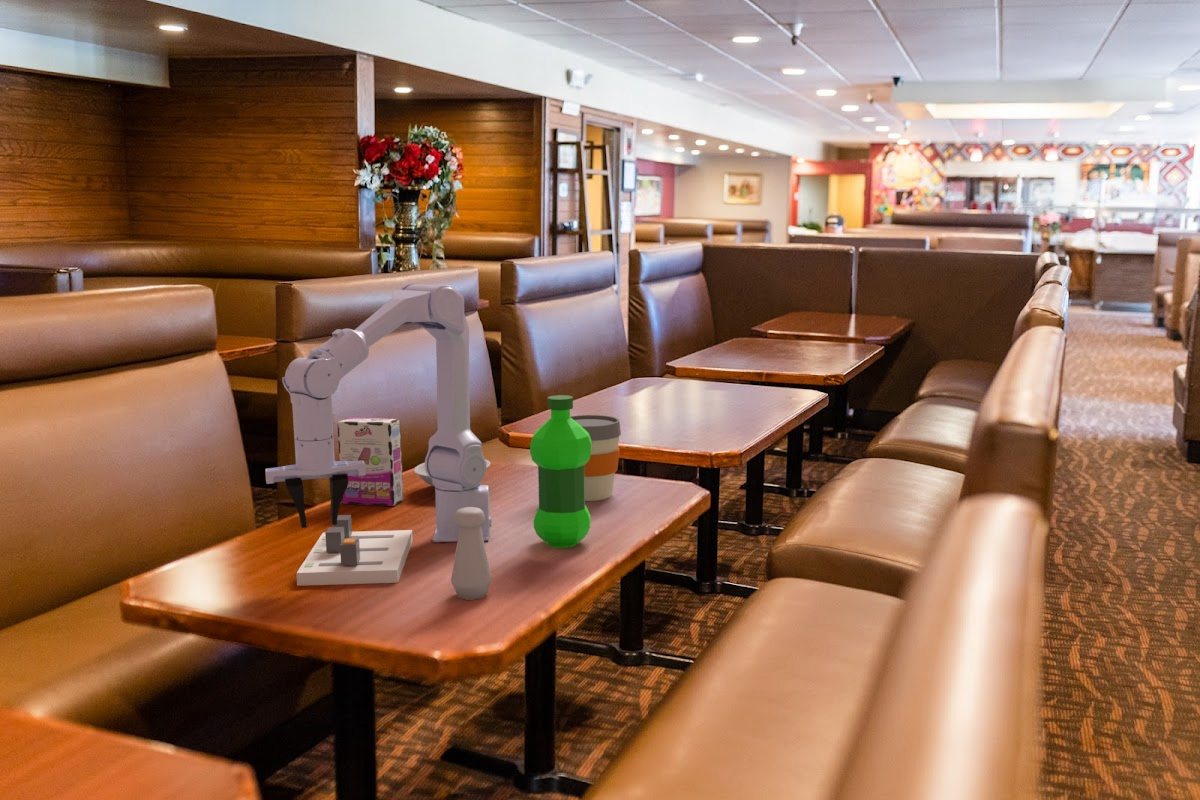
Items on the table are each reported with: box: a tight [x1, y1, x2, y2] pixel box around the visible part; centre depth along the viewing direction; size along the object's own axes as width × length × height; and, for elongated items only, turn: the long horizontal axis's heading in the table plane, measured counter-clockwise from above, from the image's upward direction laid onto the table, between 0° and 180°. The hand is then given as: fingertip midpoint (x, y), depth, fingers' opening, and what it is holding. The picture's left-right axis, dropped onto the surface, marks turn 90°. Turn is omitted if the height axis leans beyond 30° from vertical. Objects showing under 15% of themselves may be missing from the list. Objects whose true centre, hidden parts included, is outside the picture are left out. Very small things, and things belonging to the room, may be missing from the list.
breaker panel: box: [296, 529, 414, 586], centre depth 172 cm, size 15×21×2 cm
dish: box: [413, 458, 491, 488], centre depth 217 cm, size 18×14×5 cm
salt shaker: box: [450, 507, 492, 601], centre depth 156 cm, size 6×6×13 cm
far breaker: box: [333, 514, 353, 538], centre depth 178 cm, size 2×3×3 cm
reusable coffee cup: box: [570, 414, 622, 502], centre depth 211 cm, size 13×13×15 cm
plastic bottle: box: [529, 394, 592, 549], centre depth 179 cm, size 10×10×25 cm
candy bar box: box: [337, 417, 404, 507], centre depth 207 cm, size 11×5×16 cm, turn 77°
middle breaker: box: [325, 526, 345, 552], centre depth 172 cm, size 2×3×3 cm
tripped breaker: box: [340, 538, 360, 566], centre depth 165 cm, size 2×3×4 cm
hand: (318, 524), depth 164 cm, fingers open, 4 cm apart
